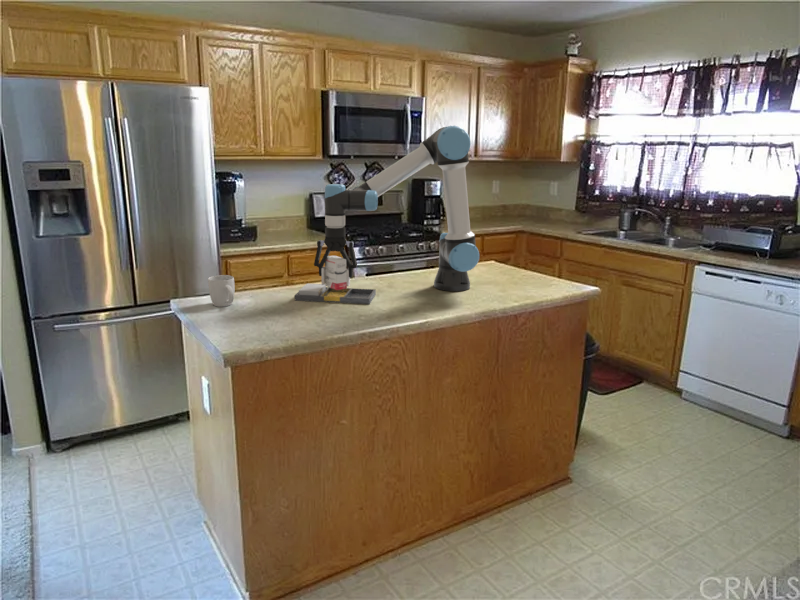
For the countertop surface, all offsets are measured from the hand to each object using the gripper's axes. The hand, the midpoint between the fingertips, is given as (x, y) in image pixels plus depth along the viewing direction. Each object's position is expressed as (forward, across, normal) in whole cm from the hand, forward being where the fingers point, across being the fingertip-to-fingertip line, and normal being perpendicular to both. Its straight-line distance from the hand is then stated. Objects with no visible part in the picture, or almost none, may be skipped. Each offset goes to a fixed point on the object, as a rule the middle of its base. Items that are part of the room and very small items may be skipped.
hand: (335, 284), depth 212 cm
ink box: (+1, 0, 0) cm, 1 cm away
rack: (+5, 0, 0) cm, 5 cm away
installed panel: (+5, +9, 0) cm, 11 cm away
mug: (+5, +37, +18) cm, 41 cm away
